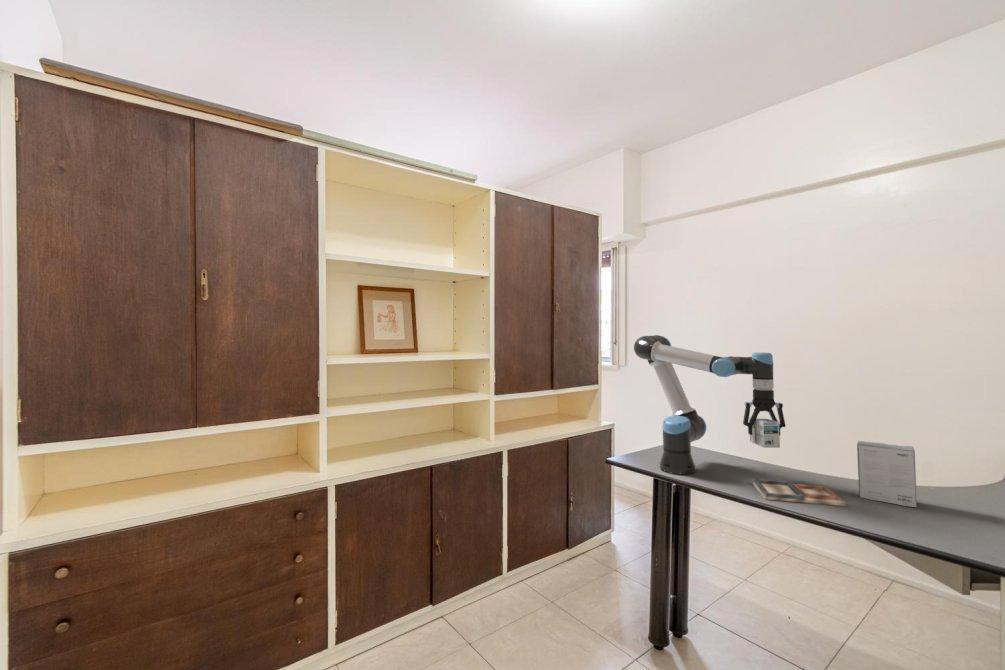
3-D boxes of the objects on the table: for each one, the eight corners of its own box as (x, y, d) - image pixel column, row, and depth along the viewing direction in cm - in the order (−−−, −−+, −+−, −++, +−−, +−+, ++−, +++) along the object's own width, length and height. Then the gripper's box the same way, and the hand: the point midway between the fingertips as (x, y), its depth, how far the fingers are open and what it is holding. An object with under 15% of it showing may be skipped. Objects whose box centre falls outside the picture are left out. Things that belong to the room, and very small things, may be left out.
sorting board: (765, 499, 155) (765, 493, 155) (753, 484, 170) (753, 478, 170) (845, 506, 148) (845, 499, 148) (825, 489, 163) (825, 484, 163)
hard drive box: (916, 502, 150) (914, 446, 150) (917, 508, 144) (915, 451, 144) (859, 491, 160) (858, 439, 160) (858, 497, 155) (856, 443, 155)
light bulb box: (780, 448, 171) (780, 421, 171) (764, 448, 171) (763, 422, 171) (764, 441, 182) (764, 416, 182) (749, 441, 182) (748, 416, 182)
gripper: (738, 389, 176) (739, 443, 176) (794, 390, 170) (796, 446, 170) (733, 387, 183) (734, 439, 183) (788, 388, 177) (789, 441, 177)
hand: (764, 442), depth 176 cm, fingers closed on light bulb box, 8 cm apart
